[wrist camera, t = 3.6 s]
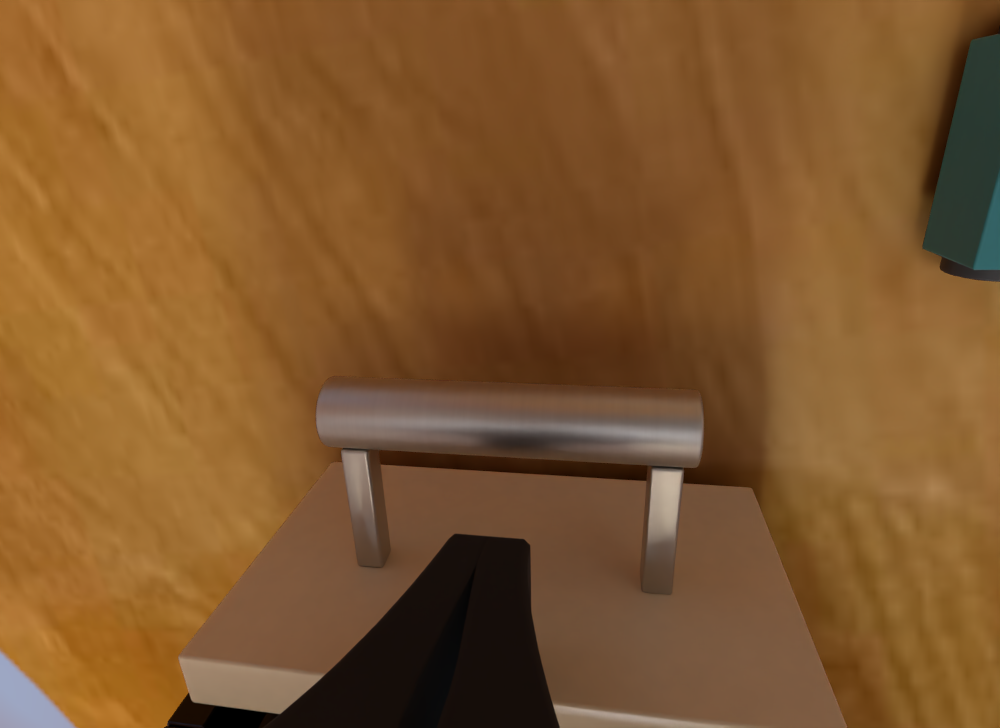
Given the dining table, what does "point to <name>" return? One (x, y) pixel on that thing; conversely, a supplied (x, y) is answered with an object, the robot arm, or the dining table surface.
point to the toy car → (971, 173)
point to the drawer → (554, 558)
